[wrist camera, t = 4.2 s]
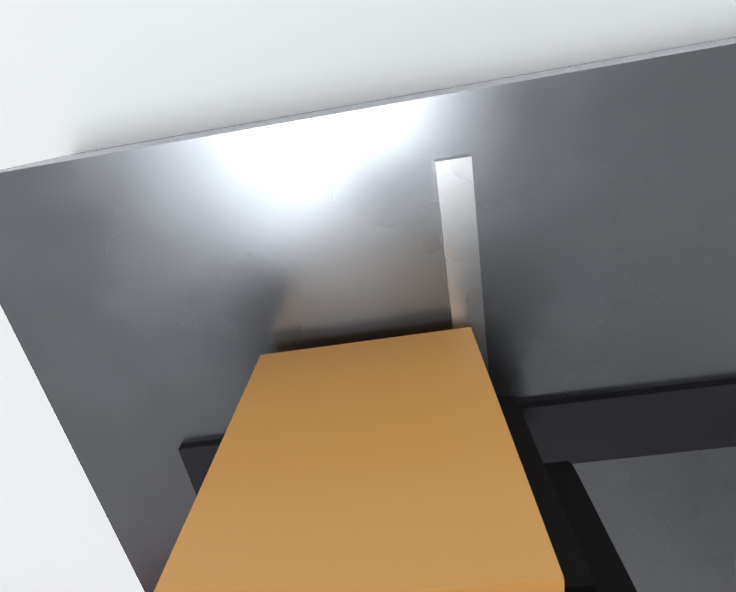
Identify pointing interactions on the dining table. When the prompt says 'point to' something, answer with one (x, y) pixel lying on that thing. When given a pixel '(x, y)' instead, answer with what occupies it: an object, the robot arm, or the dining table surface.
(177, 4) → the dining table surface
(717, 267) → the block
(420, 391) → the fader knob
